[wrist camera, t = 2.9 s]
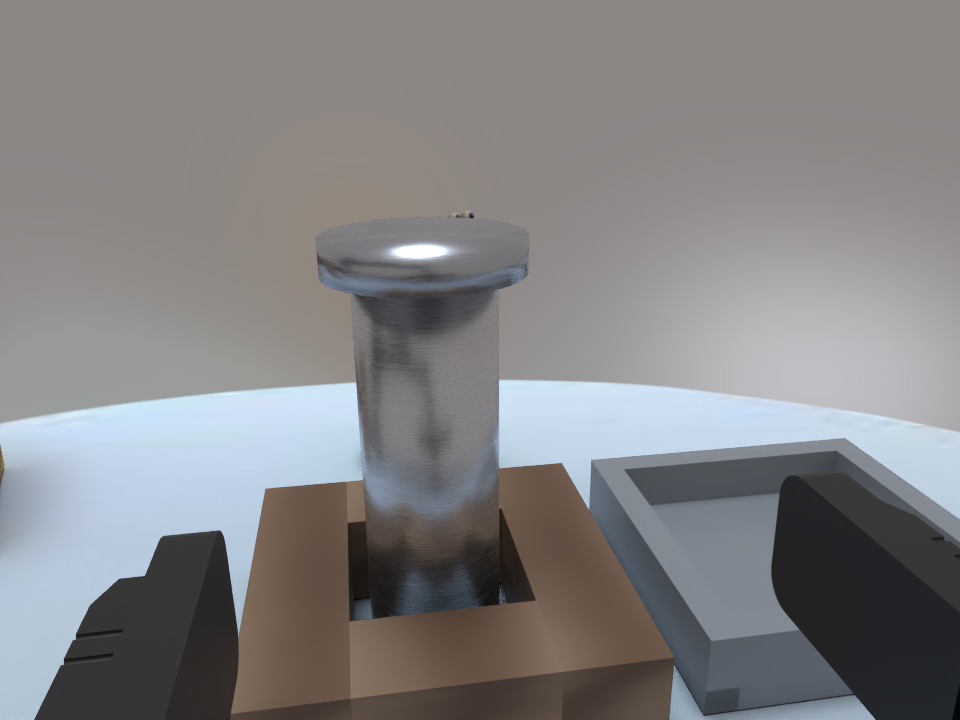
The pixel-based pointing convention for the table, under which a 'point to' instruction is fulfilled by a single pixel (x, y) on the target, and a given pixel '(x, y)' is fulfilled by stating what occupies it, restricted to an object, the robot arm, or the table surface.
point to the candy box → (1, 463)
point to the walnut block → (447, 620)
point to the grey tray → (730, 560)
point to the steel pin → (427, 400)
